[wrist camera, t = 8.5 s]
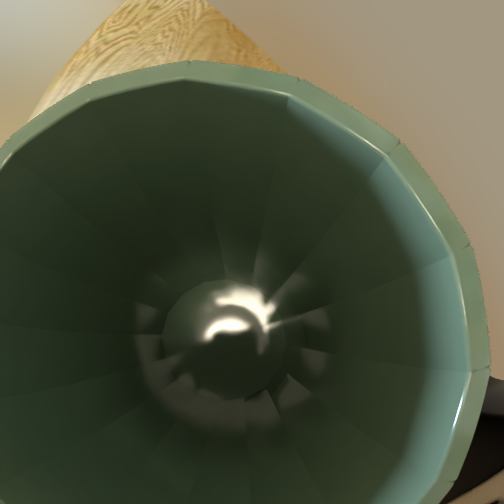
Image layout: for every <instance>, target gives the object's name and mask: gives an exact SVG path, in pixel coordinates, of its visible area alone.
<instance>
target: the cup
mask: <svg viewBox="0 0 504 504" xmlns="http://www.w3.org/2000/svg"><path fill="white" fill-rule="evenodd" d="M490 365H491V352H490V341H489V331H488V322H487V315H486V308H485V302H484V296H483V290H482V285H481V280H480V275H479V271H478V266H477V262H476V258H475V254H474V250H473V247H472V246H470V240H469V238H468V236H467V234H466V232H465V231H464V229H463V227H462V226H461V224H460V222H459V221H458V219H457V218H456V216H455V214H454V212H453V211H452V209H451V208H450V206H449V205H448V203H447V201H446V200H445V198H444V197H443V195H442V194H441V192H440V191H439V189H438V188H437V187H436V185H435V184H434V182H433V181H432V179H431V178H430V177H429V175H428V174H427V172H426V171H425V170H424V168H423V167H422V166H421V164H420V163H419V162H418V160H417V159H416V158H415V156H414V155H413V154H412V153H411V151H410V150H409V149H408V148H407V146H406V145H405V144H404V143H400V139H399V138H397V137H396V136H395V135H393V134H392V133H390V132H389V131H388V130H386V129H385V128H383V127H382V126H380V125H379V124H378V123H376V122H375V121H373V120H372V119H370V118H369V117H367V116H366V115H364V114H362V113H361V112H359V111H358V110H356V109H355V108H353V107H352V106H350V105H348V104H347V103H345V102H343V101H342V100H340V99H338V98H337V97H335V96H333V95H332V94H330V93H328V92H326V91H324V90H323V89H321V88H319V87H317V86H316V85H314V84H312V83H310V82H308V81H306V80H304V79H301V80H300V79H299V78H298V77H296V76H291V75H287V74H283V73H278V72H273V71H268V70H263V69H258V68H252V67H246V66H240V65H233V64H226V63H218V62H209V61H199V60H193V61H191V62H190V61H188V60H186V61H180V62H174V63H168V64H163V65H157V66H152V67H148V68H143V69H139V70H134V71H130V72H126V73H122V74H118V75H114V76H111V77H107V78H104V79H100V80H97V81H94V82H92V83H91V84H87V85H85V86H83V87H81V88H80V89H78V90H76V91H75V92H73V93H71V94H70V95H68V96H67V97H65V98H63V99H62V100H60V101H59V102H57V103H56V104H54V105H53V106H51V107H50V108H48V109H47V110H45V111H44V112H42V113H41V114H39V115H38V116H37V117H35V118H34V119H32V120H31V121H30V122H28V123H27V124H26V125H24V126H23V127H22V128H20V129H19V130H18V131H17V132H15V133H14V134H13V135H12V136H11V137H10V139H8V140H7V141H6V142H5V143H4V144H3V145H2V147H1V148H0V504H439V503H440V502H441V501H442V499H443V498H444V497H445V496H446V494H447V493H448V492H449V490H450V489H451V488H452V486H453V485H454V481H456V480H457V478H458V476H459V474H460V471H461V469H462V466H463V464H464V461H465V459H466V456H467V454H468V451H469V448H470V445H471V443H472V440H473V437H474V434H475V430H476V427H477V424H478V421H479V417H480V414H481V410H482V406H483V403H484V399H485V395H486V390H487V386H488V381H489V376H490V371H491V370H490V367H489V366H490Z"/></svg>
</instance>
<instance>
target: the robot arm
mask: <svg viewBox="0 0 504 504" xmlns="http://www.w3.org/2000/svg"><path fill="white" fill-rule="evenodd" d="M439 504H504V380H500V379H496V378H493V377H491V376H489V381H488V386H487V390H486V395H485V399H484V403H483V406H482V410H481V414H480V417H479V421H478V424H477V427H476V430H475V434H474V437H473V440H472V443H471V445H470V448H469V451H468V454H467V456H466V459H465V461H464V464H463V466H462V469H461V471H460V474H459V476H458V478H457V480H456V481H454V485H453V486H452V488H451V489H450V490H449V492H448V493H447V494H446V496H445V497H444V498H443V499H442V501H441V502H440V503H439Z"/></svg>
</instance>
